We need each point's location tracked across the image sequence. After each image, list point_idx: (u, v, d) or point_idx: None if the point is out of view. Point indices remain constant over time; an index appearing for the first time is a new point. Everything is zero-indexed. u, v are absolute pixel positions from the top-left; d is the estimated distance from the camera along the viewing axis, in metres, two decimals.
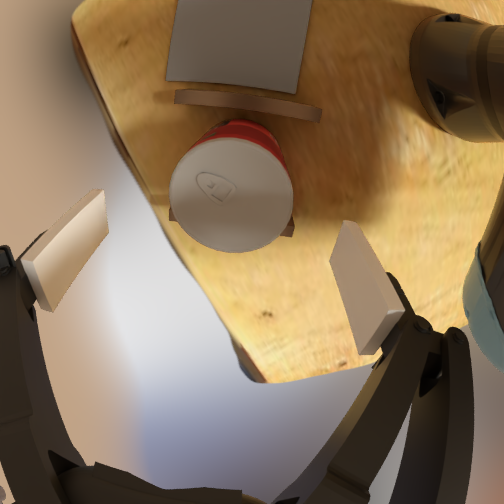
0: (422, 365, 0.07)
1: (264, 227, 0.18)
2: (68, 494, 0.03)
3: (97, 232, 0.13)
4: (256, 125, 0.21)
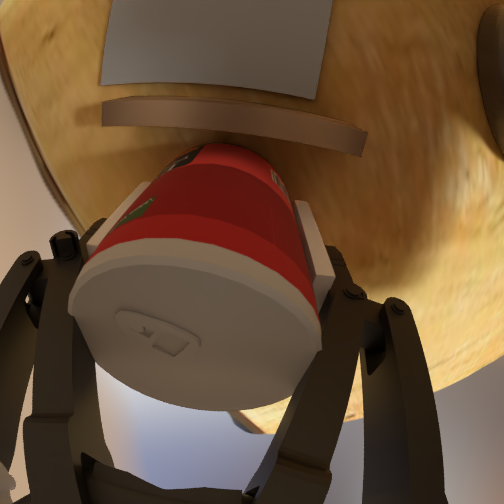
0: (360, 332, 0.08)
1: (260, 387, 0.09)
2: None
3: None
4: (247, 158, 0.12)
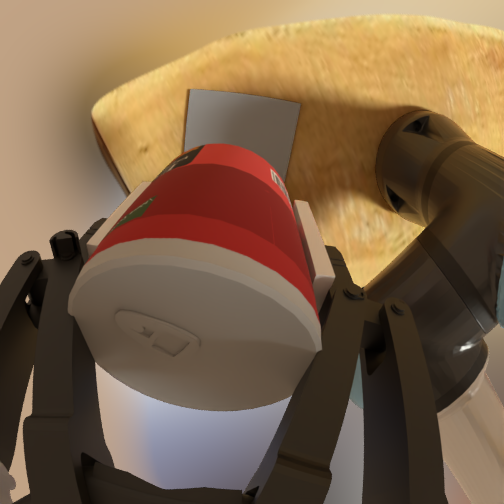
0: (360, 332, 0.08)
1: (260, 387, 0.09)
2: None
3: None
4: (247, 158, 0.12)
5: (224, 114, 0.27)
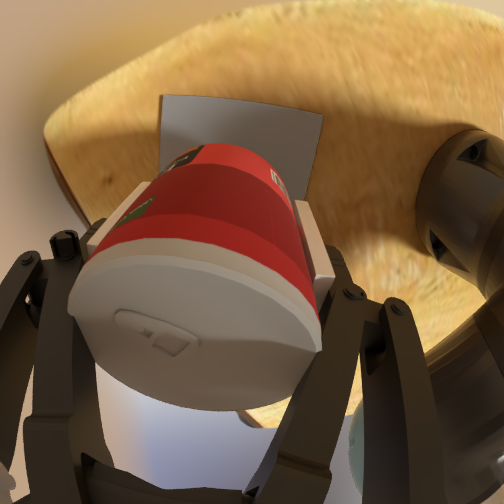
0: (360, 332, 0.08)
1: (259, 387, 0.09)
2: None
3: None
4: (247, 158, 0.12)
5: (213, 130, 0.19)
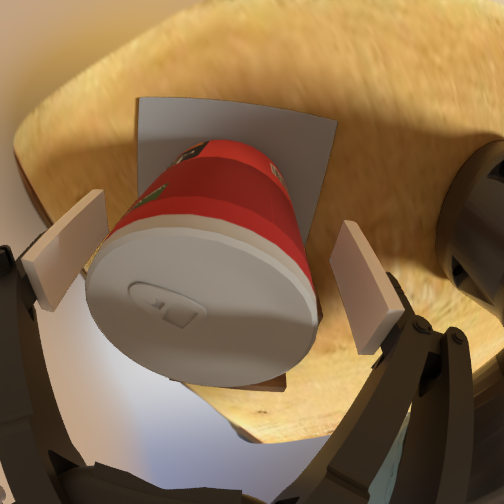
0: (422, 365, 0.07)
1: (261, 360, 0.10)
2: (68, 494, 0.03)
3: (97, 232, 0.13)
4: (248, 153, 0.13)
5: (200, 140, 0.15)
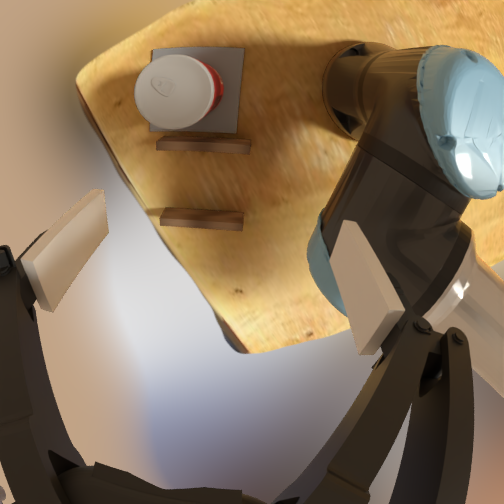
0: (422, 365, 0.07)
1: (196, 107, 0.23)
2: (68, 494, 0.03)
3: (97, 232, 0.13)
4: None
5: None
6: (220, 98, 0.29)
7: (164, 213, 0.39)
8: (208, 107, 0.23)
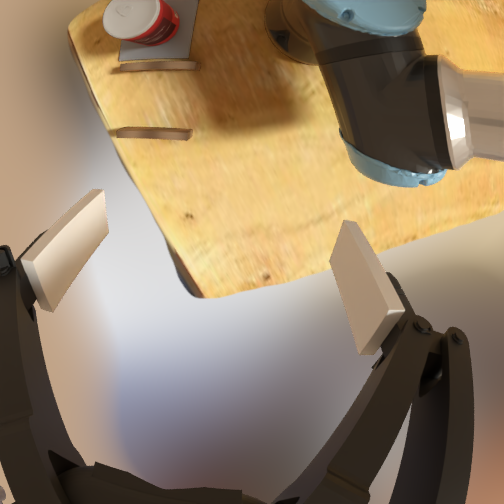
0: (422, 365, 0.07)
1: (145, 21, 0.22)
2: (68, 494, 0.03)
3: (97, 232, 0.13)
4: None
5: None
6: (174, 27, 0.28)
7: (122, 129, 0.38)
8: (153, 20, 0.22)
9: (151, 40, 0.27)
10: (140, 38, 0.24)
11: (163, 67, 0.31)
